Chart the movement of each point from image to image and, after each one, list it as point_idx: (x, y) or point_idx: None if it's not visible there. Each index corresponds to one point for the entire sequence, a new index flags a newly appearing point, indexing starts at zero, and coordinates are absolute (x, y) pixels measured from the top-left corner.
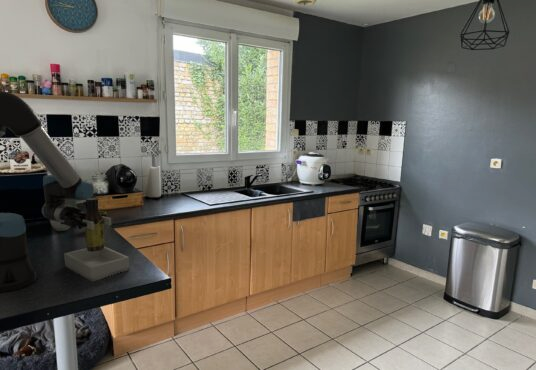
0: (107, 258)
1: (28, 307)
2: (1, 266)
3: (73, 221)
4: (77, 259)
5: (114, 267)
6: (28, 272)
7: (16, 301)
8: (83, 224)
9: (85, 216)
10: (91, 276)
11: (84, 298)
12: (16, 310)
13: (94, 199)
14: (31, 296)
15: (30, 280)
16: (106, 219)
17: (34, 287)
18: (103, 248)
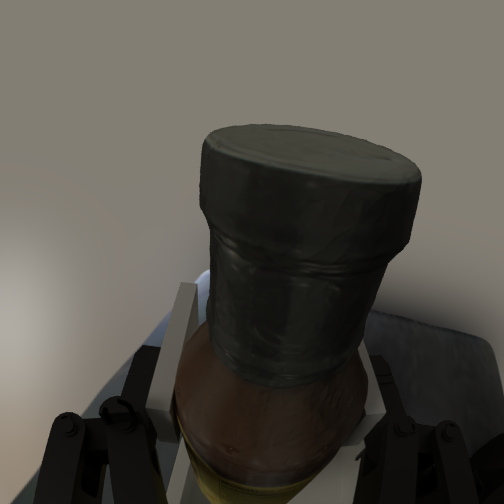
0: (193, 478)
1: (466, 347)
2: None
3: (453, 422)
4: (362, 444)
5: None
6: (496, 444)
7: (487, 383)
8: (382, 369)
9: (367, 378)
10: None
11: (380, 313)
12: (481, 349)
13: (306, 128)
14: (467, 388)
15: (477, 452)
16: (191, 320)
17: (463, 435)
18: (181, 500)
